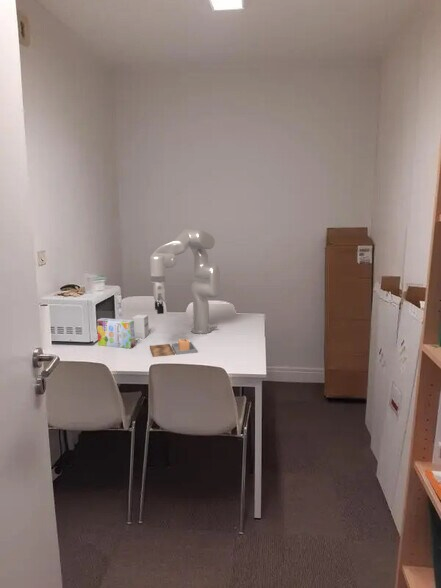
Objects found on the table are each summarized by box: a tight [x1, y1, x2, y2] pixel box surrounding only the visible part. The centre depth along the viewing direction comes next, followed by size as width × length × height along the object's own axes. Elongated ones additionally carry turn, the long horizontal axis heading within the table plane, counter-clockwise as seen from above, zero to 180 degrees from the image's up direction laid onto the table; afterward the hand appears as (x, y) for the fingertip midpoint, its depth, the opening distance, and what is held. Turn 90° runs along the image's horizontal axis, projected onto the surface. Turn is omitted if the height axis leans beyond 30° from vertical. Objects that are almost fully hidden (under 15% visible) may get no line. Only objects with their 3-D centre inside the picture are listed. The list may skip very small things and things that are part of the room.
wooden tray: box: [149, 343, 175, 358], centre depth 237 cm, size 11×14×2 cm
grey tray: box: [171, 341, 198, 356], centre depth 240 cm, size 11×14×2 cm
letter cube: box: [177, 338, 190, 351], centre depth 240 cm, size 5×5×5 cm
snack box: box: [96, 317, 136, 349], centre depth 250 cm, size 21×6×15 cm, turn 71°
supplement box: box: [132, 314, 150, 339], centre depth 267 cm, size 7×7×13 cm
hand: (159, 311), depth 233 cm, fingers open, 9 cm apart
